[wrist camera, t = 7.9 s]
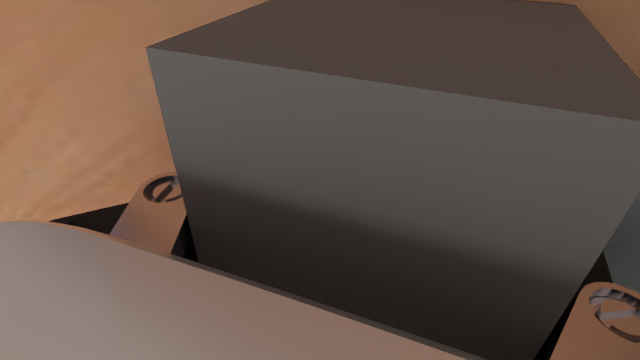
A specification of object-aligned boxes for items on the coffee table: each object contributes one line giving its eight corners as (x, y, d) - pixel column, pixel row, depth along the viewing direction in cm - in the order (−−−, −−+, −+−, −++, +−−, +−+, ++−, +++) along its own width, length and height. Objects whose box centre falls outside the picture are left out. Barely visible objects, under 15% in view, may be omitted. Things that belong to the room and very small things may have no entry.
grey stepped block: (575, 5, 8) (680, 126, 3) (446, 348, 16) (425, 529, 11) (312, -16, 10) (144, 47, 5) (310, 302, 17) (243, 443, 13)
